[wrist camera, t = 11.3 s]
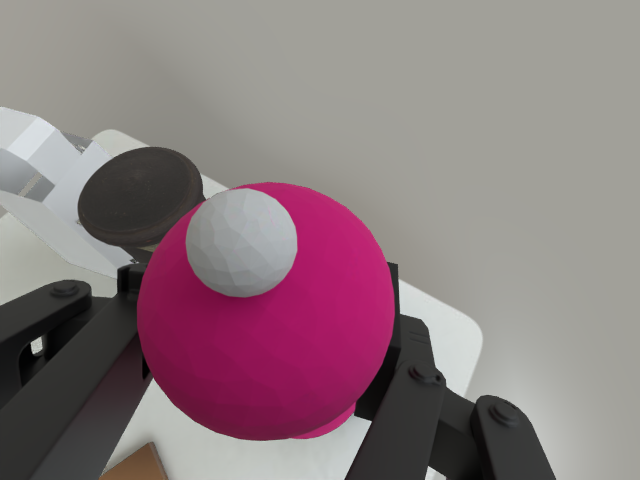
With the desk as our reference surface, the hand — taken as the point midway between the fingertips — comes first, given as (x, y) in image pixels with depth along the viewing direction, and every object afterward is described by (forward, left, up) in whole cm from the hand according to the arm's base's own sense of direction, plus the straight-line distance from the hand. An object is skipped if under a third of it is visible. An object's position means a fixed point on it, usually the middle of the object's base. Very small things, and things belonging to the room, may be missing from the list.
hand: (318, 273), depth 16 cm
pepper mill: (-2, +3, -9) cm, 10 cm away
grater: (+27, +13, -25) cm, 39 cm away
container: (+15, +6, -25) cm, 29 cm away
